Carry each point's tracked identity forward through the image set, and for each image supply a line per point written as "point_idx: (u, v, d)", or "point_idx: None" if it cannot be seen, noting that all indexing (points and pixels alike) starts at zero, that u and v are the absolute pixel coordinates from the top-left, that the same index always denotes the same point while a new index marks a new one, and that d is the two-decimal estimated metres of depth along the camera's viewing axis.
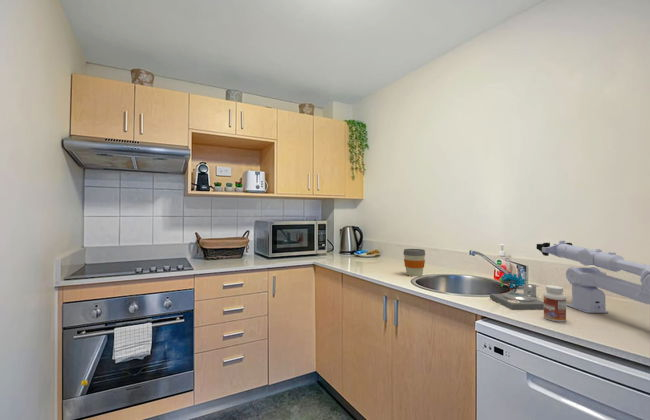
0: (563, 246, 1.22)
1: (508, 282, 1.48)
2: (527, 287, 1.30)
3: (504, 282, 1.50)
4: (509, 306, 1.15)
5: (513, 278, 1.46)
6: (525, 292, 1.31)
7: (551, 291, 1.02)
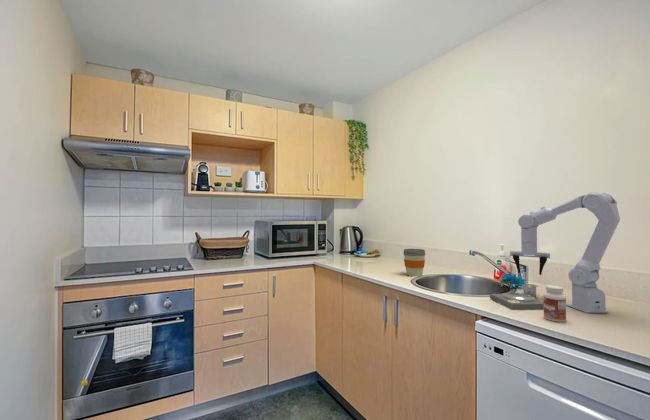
0: None
1: (508, 282, 1.48)
2: (527, 287, 1.30)
3: (504, 282, 1.50)
4: (509, 306, 1.15)
5: (513, 278, 1.46)
6: (525, 292, 1.31)
7: (551, 291, 1.02)
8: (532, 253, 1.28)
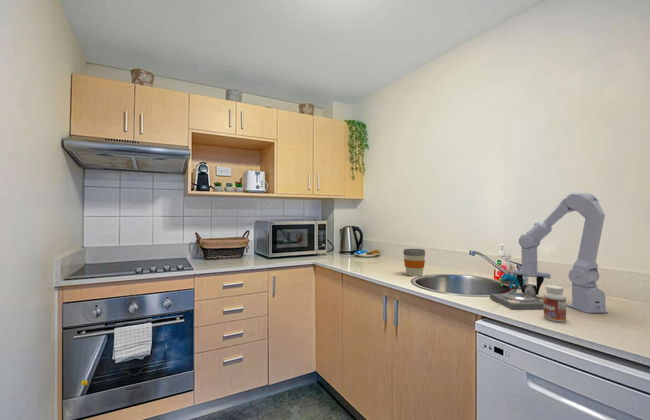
0: None
1: (507, 282, 1.48)
2: (527, 287, 1.30)
3: (504, 282, 1.50)
4: (509, 306, 1.15)
5: (512, 278, 1.46)
6: (525, 292, 1.31)
7: (551, 291, 1.02)
8: (532, 273, 1.28)
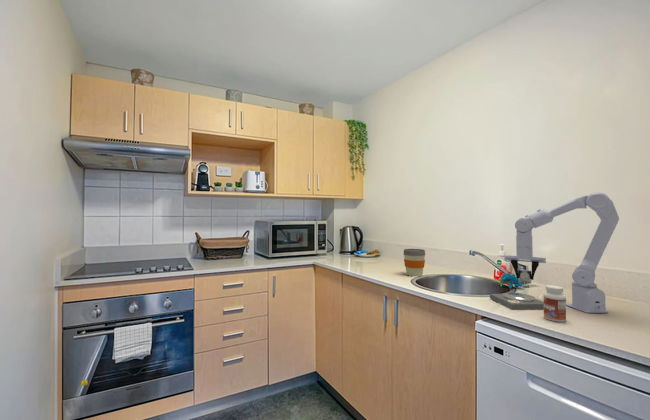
0: None
1: (507, 282, 1.48)
2: (521, 272, 1.26)
3: (503, 282, 1.50)
4: (509, 306, 1.15)
5: (512, 278, 1.46)
6: (520, 277, 1.27)
7: (551, 291, 1.02)
8: (527, 258, 1.24)
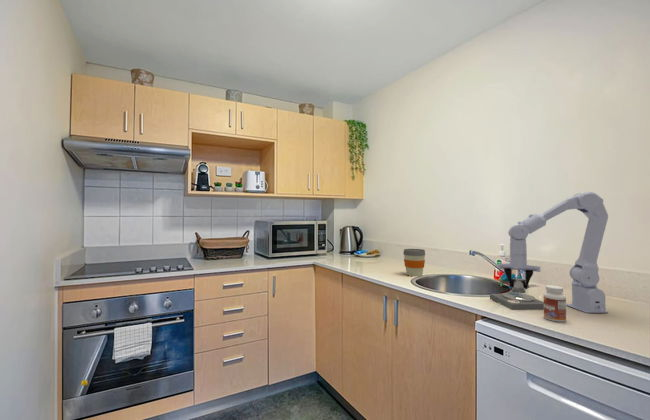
0: None
1: (507, 282, 1.48)
2: (515, 281, 1.22)
3: (503, 282, 1.50)
4: (509, 306, 1.15)
5: (512, 278, 1.46)
6: (513, 287, 1.23)
7: (551, 291, 1.02)
8: (521, 266, 1.20)
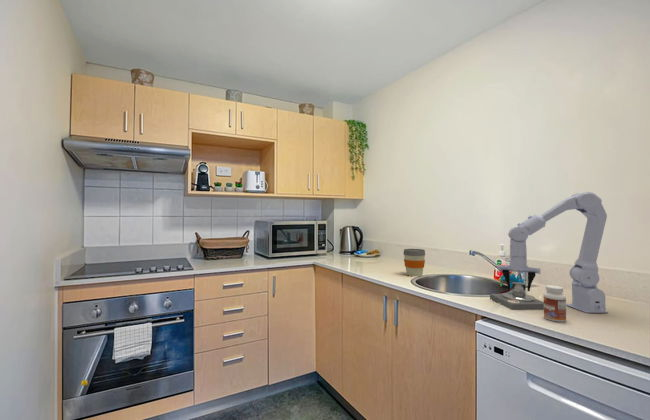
0: None
1: None
2: (515, 285, 1.22)
3: (503, 282, 1.50)
4: (509, 306, 1.15)
5: (512, 278, 1.46)
6: (513, 291, 1.22)
7: (551, 291, 1.02)
8: (521, 268, 1.20)
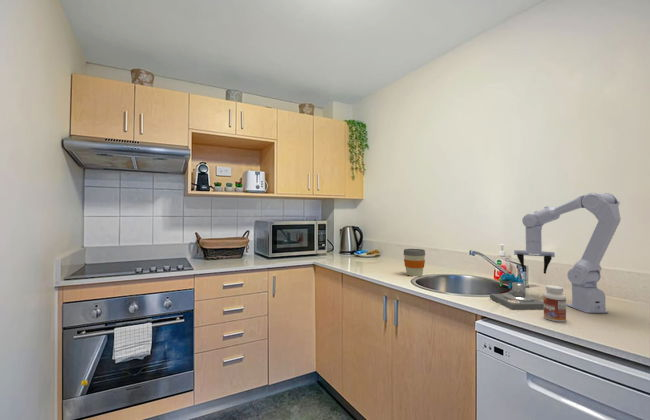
0: None
1: (507, 282, 1.48)
2: (515, 285, 1.22)
3: (503, 282, 1.50)
4: (509, 306, 1.15)
5: (511, 278, 1.46)
6: (513, 291, 1.22)
7: (551, 291, 1.02)
8: (537, 252, 1.29)
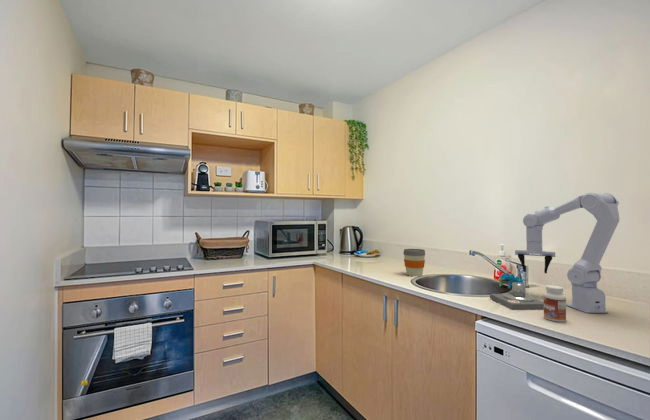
0: None
1: (506, 282, 1.48)
2: (515, 285, 1.22)
3: (503, 282, 1.50)
4: (509, 306, 1.15)
5: (511, 278, 1.46)
6: (513, 291, 1.22)
7: (551, 291, 1.02)
8: (537, 252, 1.29)
